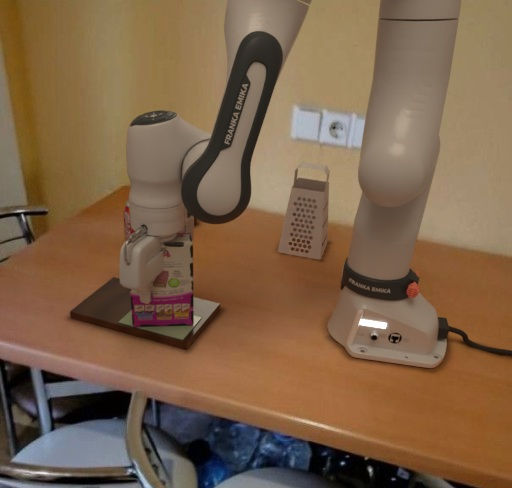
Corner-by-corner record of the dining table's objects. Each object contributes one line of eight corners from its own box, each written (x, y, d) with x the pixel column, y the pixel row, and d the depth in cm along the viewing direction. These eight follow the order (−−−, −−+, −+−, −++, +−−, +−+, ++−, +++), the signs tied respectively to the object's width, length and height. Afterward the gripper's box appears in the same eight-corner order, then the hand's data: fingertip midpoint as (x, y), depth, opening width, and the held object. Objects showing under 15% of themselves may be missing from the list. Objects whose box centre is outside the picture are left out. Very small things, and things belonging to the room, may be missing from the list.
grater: (320, 259, 133) (332, 176, 122) (277, 252, 135) (285, 169, 123) (327, 242, 141) (339, 163, 130) (286, 235, 143) (295, 156, 132)
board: (220, 310, 111) (220, 302, 110) (186, 350, 99) (186, 342, 98) (114, 283, 117) (113, 276, 116) (70, 318, 105) (69, 310, 104)
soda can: (150, 261, 126) (148, 211, 119) (121, 257, 127) (117, 206, 120) (161, 248, 132) (160, 199, 125) (133, 244, 133) (130, 195, 126)
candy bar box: (192, 311, 107) (192, 231, 98) (194, 326, 103) (194, 243, 94) (132, 313, 105) (126, 231, 96) (131, 327, 101) (125, 244, 92)
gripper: (142, 243, 83) (146, 321, 91) (200, 199, 100) (199, 269, 107) (105, 235, 85) (112, 312, 93) (168, 193, 101) (169, 262, 109)
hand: (159, 289), depth 100 cm, fingers open, 8 cm apart
